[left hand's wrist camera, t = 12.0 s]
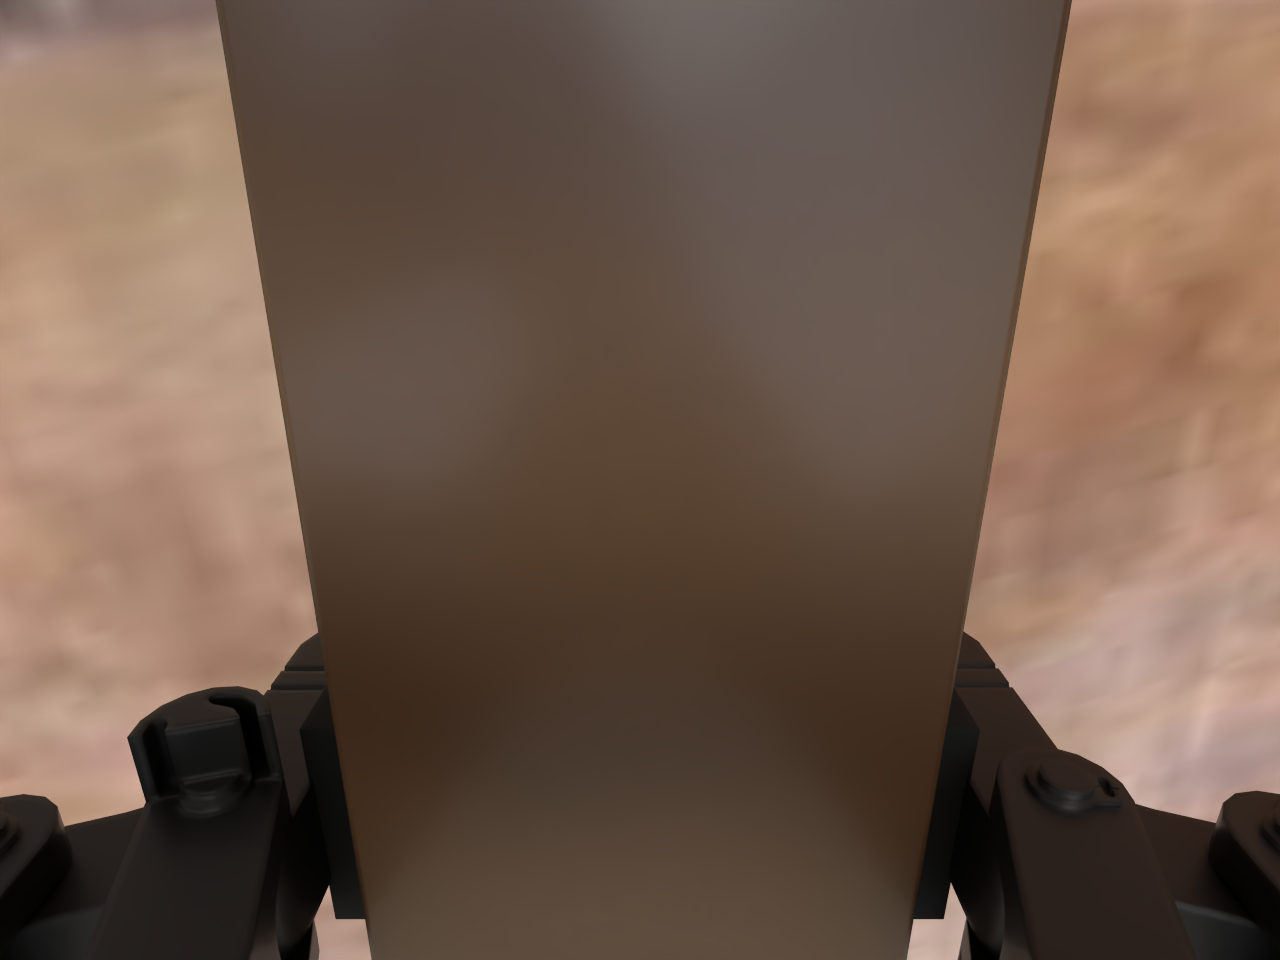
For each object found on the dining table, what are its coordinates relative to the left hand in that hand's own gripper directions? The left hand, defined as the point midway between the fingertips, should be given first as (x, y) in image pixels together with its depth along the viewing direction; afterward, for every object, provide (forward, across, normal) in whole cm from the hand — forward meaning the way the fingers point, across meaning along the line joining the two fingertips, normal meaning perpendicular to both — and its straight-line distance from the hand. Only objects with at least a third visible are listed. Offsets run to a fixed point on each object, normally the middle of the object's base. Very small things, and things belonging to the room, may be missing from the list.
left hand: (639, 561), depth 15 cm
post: (+1, 0, -30) cm, 30 cm away
